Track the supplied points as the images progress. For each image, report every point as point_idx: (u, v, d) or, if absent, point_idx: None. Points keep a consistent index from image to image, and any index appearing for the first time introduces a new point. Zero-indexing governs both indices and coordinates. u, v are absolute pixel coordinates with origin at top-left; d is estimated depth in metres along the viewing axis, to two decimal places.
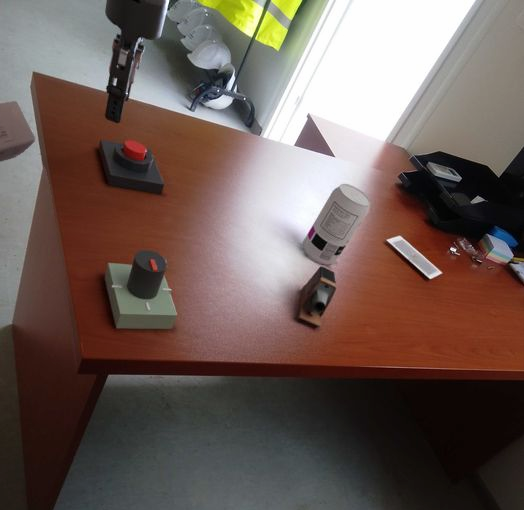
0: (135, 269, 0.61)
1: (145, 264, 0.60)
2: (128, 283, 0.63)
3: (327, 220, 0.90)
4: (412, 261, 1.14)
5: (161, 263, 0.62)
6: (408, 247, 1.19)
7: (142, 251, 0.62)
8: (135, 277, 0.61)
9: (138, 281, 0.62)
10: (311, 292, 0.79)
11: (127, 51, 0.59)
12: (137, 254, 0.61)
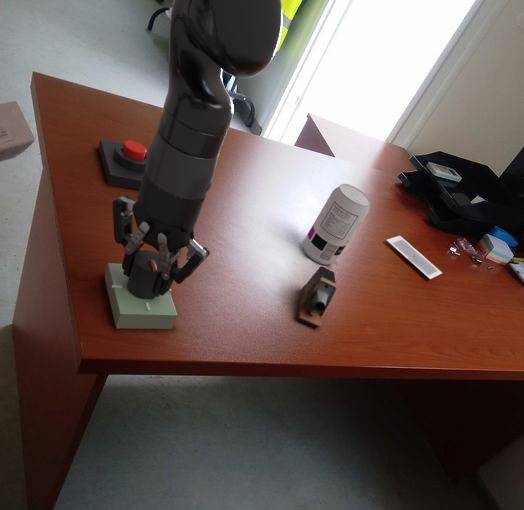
0: (135, 269, 0.61)
1: (145, 264, 0.60)
2: (128, 283, 0.63)
3: (327, 220, 0.90)
4: (412, 261, 1.14)
5: None
6: (408, 247, 1.19)
7: (142, 251, 0.62)
8: (135, 277, 0.61)
9: (138, 282, 0.62)
10: (311, 292, 0.79)
11: (206, 252, 0.58)
12: (137, 254, 0.61)
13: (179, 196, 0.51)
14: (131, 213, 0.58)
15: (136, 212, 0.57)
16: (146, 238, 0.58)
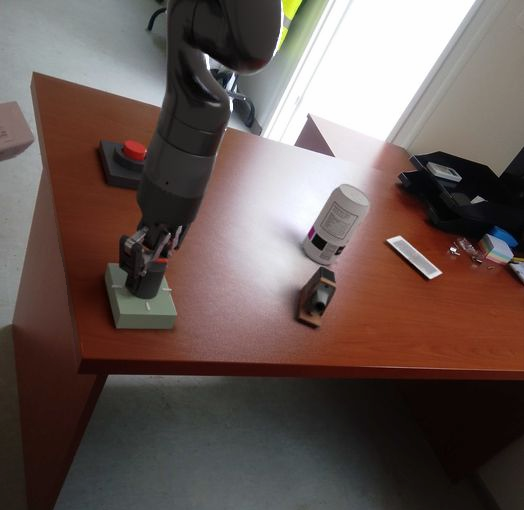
0: (158, 278, 0.62)
1: (160, 266, 0.62)
2: (148, 295, 0.63)
3: (327, 220, 0.90)
4: (412, 261, 1.14)
5: None
6: (408, 247, 1.19)
7: None
8: (159, 282, 0.63)
9: (160, 282, 0.63)
10: (311, 292, 0.79)
11: None
12: None
13: None
14: None
15: (153, 236, 0.55)
16: None
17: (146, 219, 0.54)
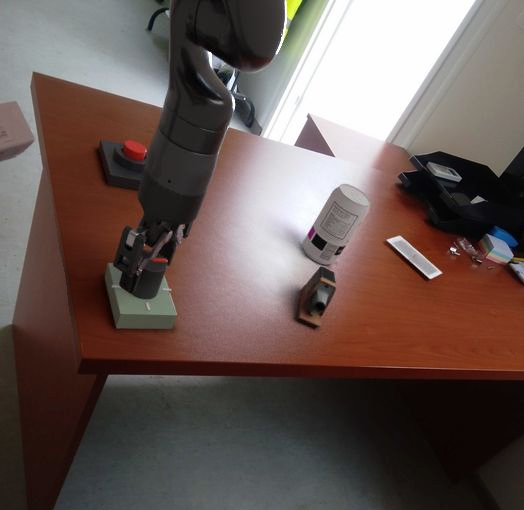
0: (158, 278, 0.62)
1: (160, 266, 0.62)
2: (148, 295, 0.63)
3: (327, 220, 0.90)
4: (412, 261, 1.14)
5: None
6: (408, 247, 1.19)
7: None
8: (159, 282, 0.63)
9: (160, 282, 0.63)
10: (311, 292, 0.79)
11: None
12: (147, 268, 0.60)
13: None
14: None
15: (155, 234, 0.55)
16: None
17: (148, 217, 0.53)
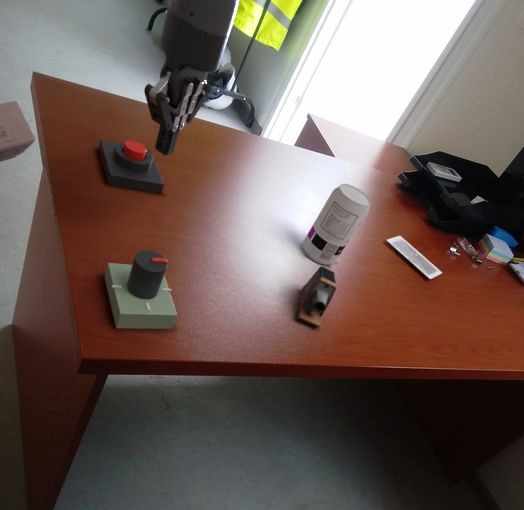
0: (158, 278, 0.62)
1: (160, 266, 0.62)
2: (148, 295, 0.63)
3: (327, 220, 0.90)
4: (412, 261, 1.14)
5: (151, 254, 0.62)
6: (408, 247, 1.19)
7: (140, 264, 0.60)
8: (159, 282, 0.63)
9: (160, 282, 0.63)
10: (311, 292, 0.79)
11: None
12: (147, 268, 0.60)
13: None
14: (164, 92, 0.57)
15: (176, 82, 0.56)
16: None
17: (170, 61, 0.54)
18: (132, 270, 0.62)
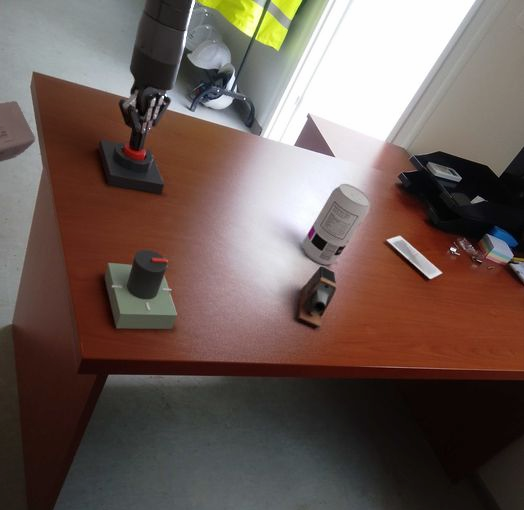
0: (158, 278, 0.62)
1: (160, 266, 0.62)
2: (148, 295, 0.63)
3: (327, 220, 0.90)
4: (412, 261, 1.14)
5: (151, 254, 0.62)
6: (408, 247, 1.19)
7: (140, 264, 0.60)
8: (159, 282, 0.63)
9: (160, 282, 0.63)
10: (311, 292, 0.79)
11: None
12: (147, 268, 0.60)
13: None
14: None
15: (142, 97, 0.76)
16: None
17: (137, 83, 0.75)
18: (132, 270, 0.62)
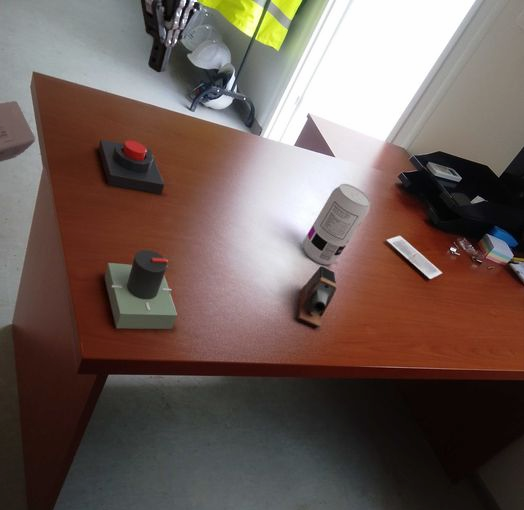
0: (158, 278, 0.62)
1: (160, 266, 0.62)
2: (148, 295, 0.63)
3: (327, 220, 0.90)
4: (412, 261, 1.14)
5: (151, 254, 0.62)
6: (409, 247, 1.18)
7: (140, 264, 0.60)
8: (159, 282, 0.63)
9: (160, 282, 0.63)
10: (311, 292, 0.79)
11: None
12: (147, 268, 0.60)
13: None
14: None
15: None
16: None
17: None
18: (132, 270, 0.62)
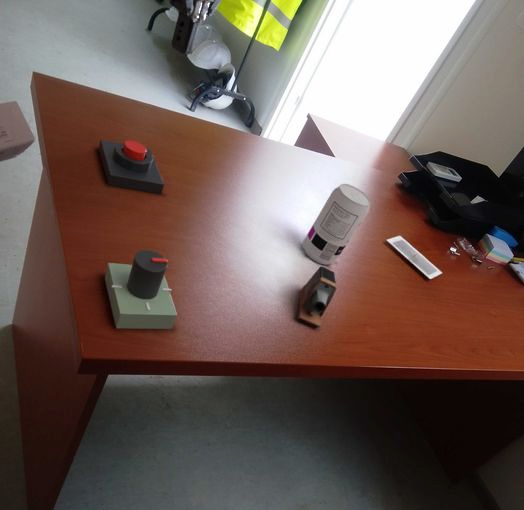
0: (158, 278, 0.62)
1: (160, 266, 0.62)
2: (148, 295, 0.63)
3: (327, 220, 0.90)
4: (412, 261, 1.14)
5: (151, 254, 0.62)
6: (408, 247, 1.19)
7: (140, 264, 0.60)
8: (159, 282, 0.63)
9: (160, 282, 0.63)
10: (311, 292, 0.79)
11: None
12: (147, 268, 0.60)
13: None
14: None
15: None
16: None
17: None
18: (132, 270, 0.62)
